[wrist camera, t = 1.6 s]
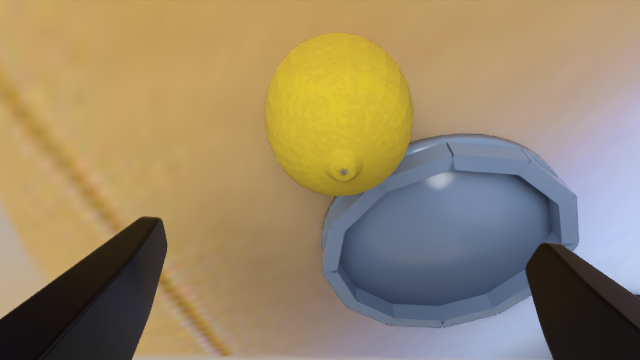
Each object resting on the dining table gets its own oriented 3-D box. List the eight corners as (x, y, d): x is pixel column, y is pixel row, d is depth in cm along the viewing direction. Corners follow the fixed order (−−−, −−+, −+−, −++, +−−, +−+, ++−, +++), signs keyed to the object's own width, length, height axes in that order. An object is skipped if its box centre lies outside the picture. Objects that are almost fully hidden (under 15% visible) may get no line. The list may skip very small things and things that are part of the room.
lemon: (406, 21, 16) (467, 101, 10) (376, 132, 19) (406, 246, 13) (279, 1, 15) (254, 69, 9) (270, 118, 19) (246, 230, 12)
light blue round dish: (503, 308, 29) (514, 332, 27) (312, 299, 28) (312, 323, 26) (613, 145, 20) (639, 166, 18) (337, 122, 19) (339, 142, 17)
